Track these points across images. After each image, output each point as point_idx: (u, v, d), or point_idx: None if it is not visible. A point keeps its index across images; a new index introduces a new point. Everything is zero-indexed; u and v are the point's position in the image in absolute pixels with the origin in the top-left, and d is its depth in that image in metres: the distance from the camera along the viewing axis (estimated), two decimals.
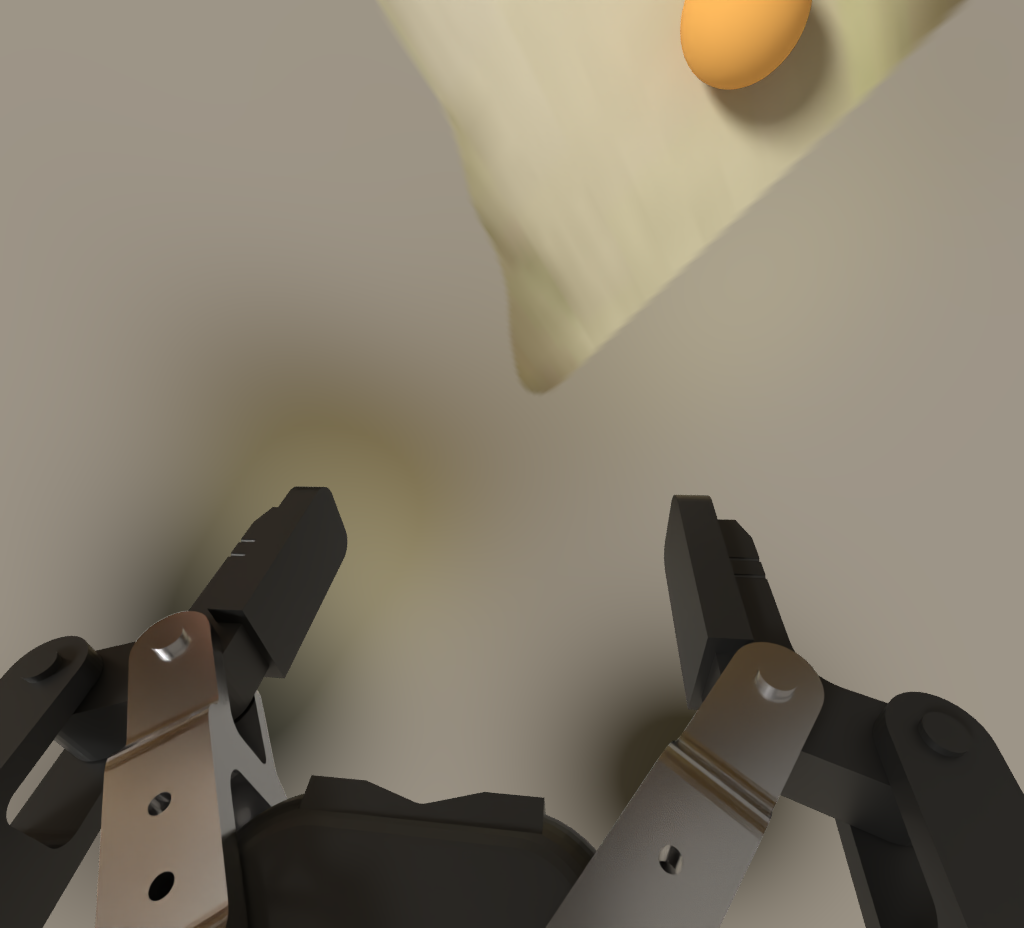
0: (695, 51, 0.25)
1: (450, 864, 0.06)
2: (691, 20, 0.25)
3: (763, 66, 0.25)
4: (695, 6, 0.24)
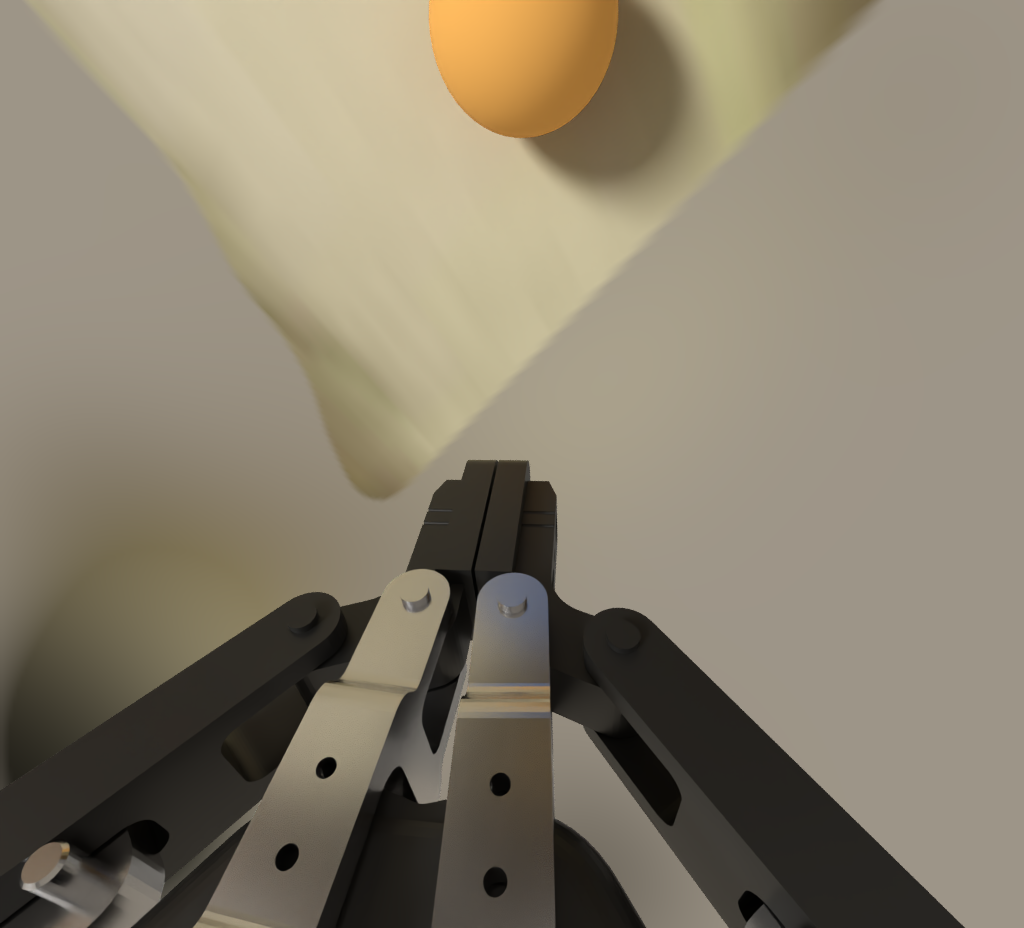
0: (449, 83, 0.16)
1: None
2: (432, 36, 0.16)
3: (549, 108, 0.16)
4: (432, 14, 0.15)
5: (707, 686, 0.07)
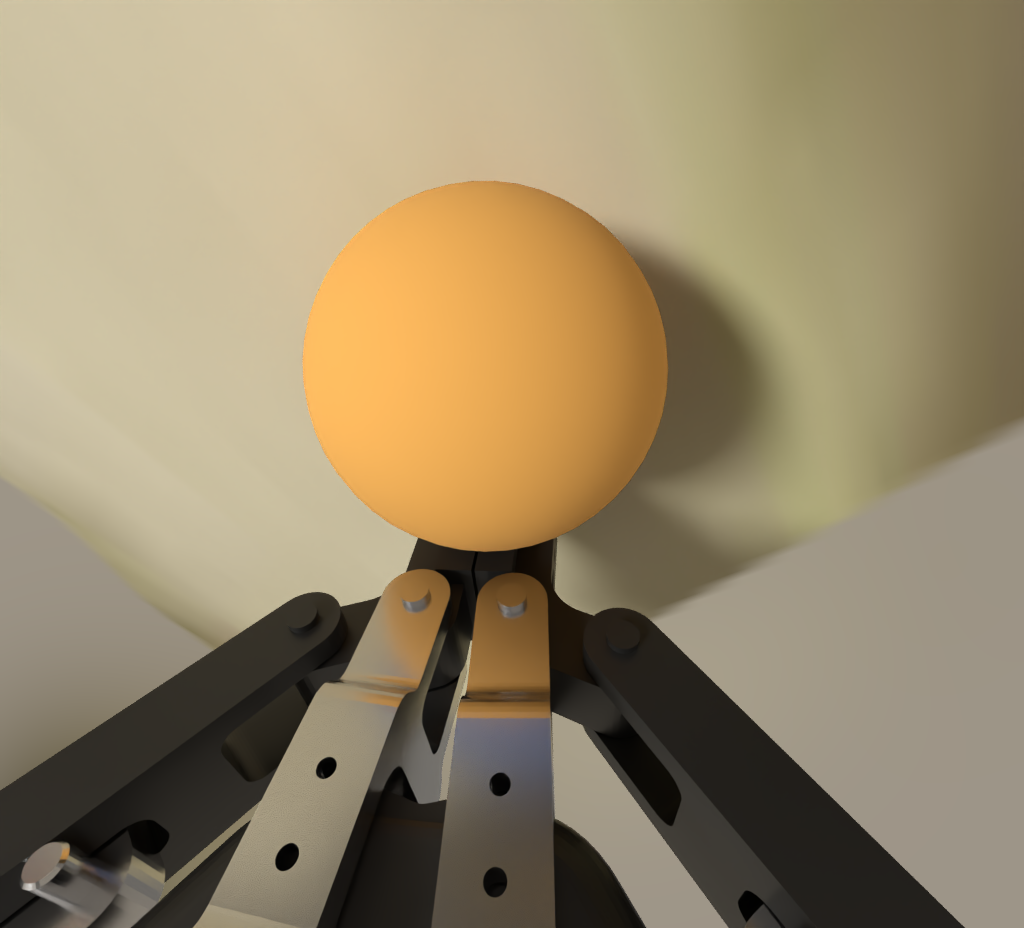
0: (322, 445, 0.08)
1: None
2: None
3: (530, 500, 0.07)
4: (306, 335, 0.08)
5: (707, 686, 0.07)
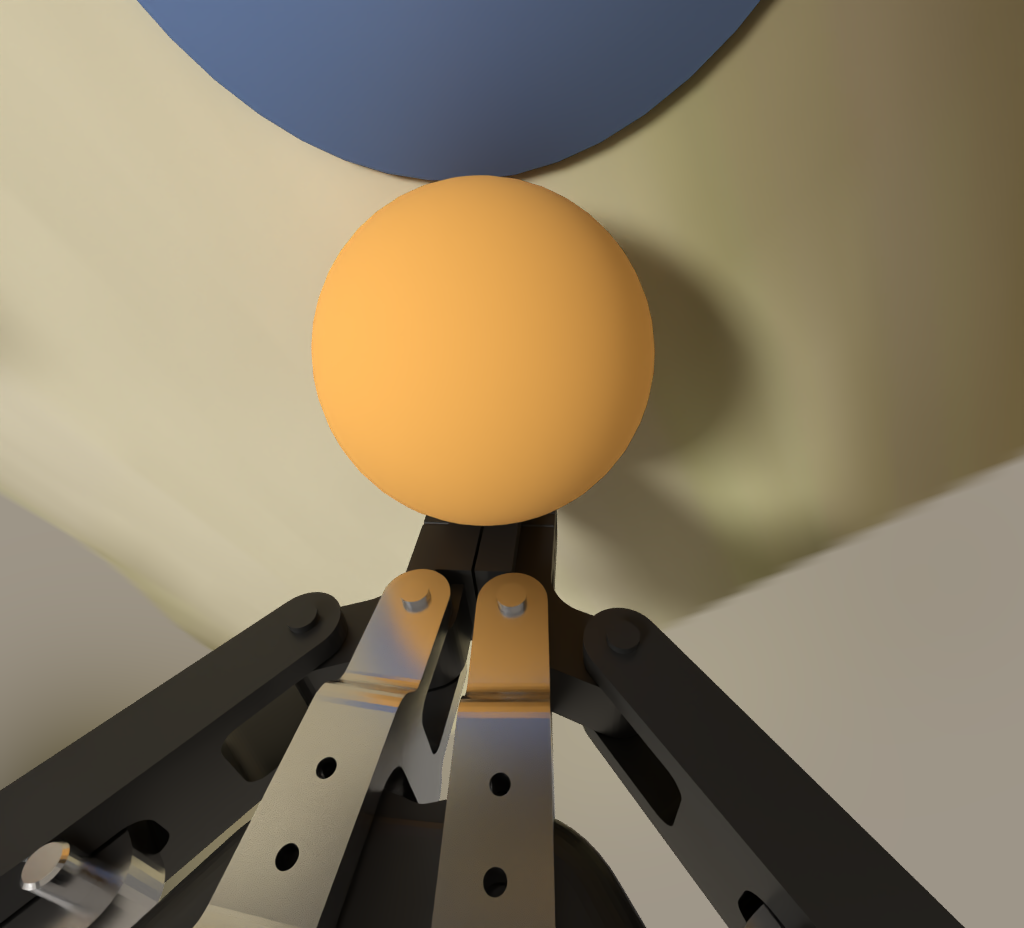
0: (319, 324, 0.08)
1: None
2: None
3: (536, 290, 0.07)
4: None
5: (707, 686, 0.07)
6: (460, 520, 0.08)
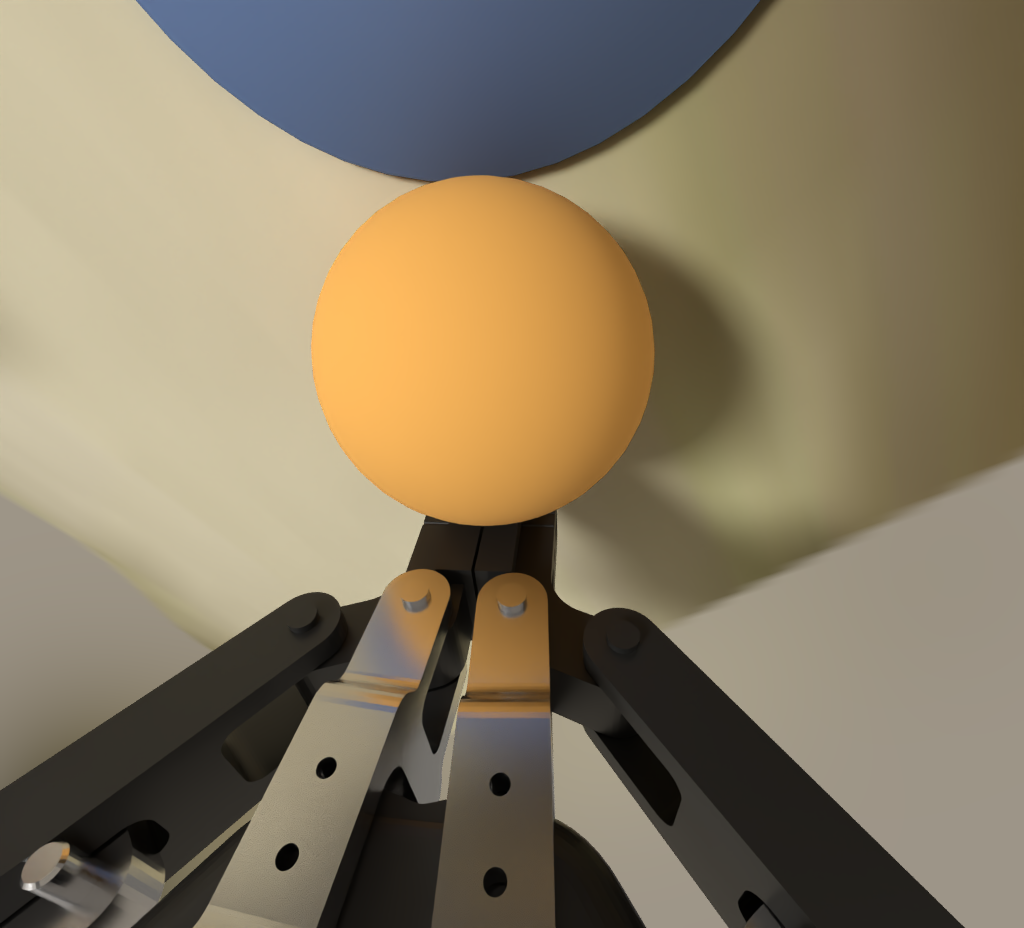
0: (319, 324, 0.08)
1: None
2: None
3: (536, 290, 0.07)
4: None
5: (707, 686, 0.07)
6: (460, 520, 0.08)
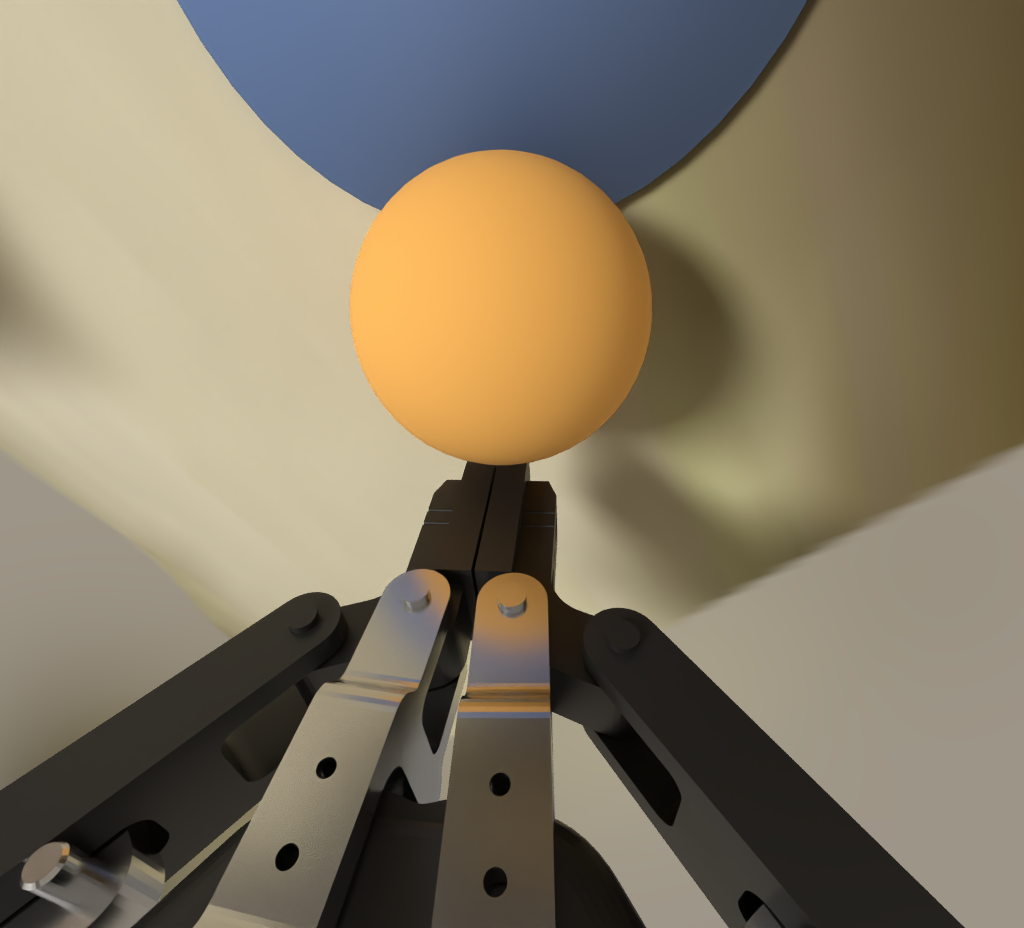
0: (369, 230, 0.09)
1: None
2: None
3: (549, 175, 0.08)
4: None
5: (707, 686, 0.07)
6: (457, 401, 0.08)
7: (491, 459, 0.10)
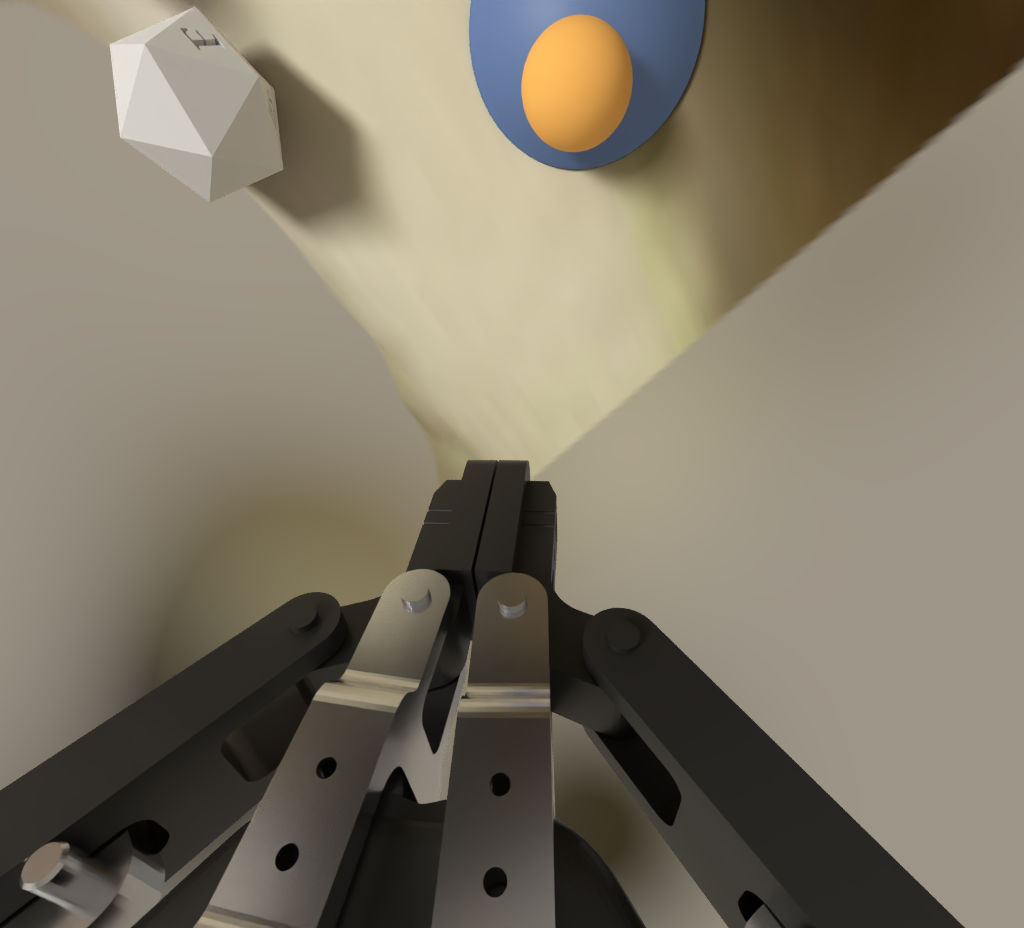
0: None
1: None
2: None
3: None
4: None
5: (707, 686, 0.07)
6: None
7: (564, 23, 0.25)
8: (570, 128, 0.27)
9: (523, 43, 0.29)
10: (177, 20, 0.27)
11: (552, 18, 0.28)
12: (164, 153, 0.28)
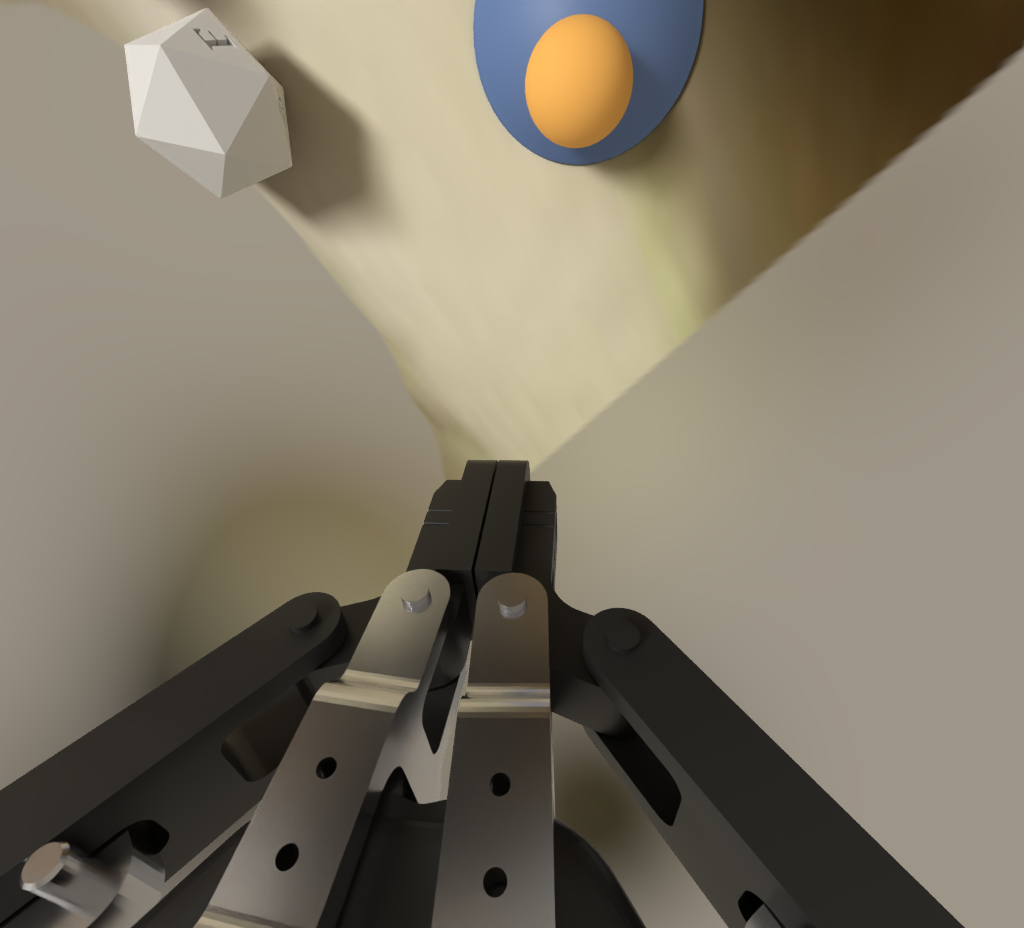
0: None
1: None
2: None
3: None
4: None
5: (707, 686, 0.07)
6: None
7: (567, 22, 0.26)
8: (573, 124, 0.28)
9: (526, 41, 0.30)
10: (190, 21, 0.27)
11: (555, 16, 0.29)
12: (178, 151, 0.29)
